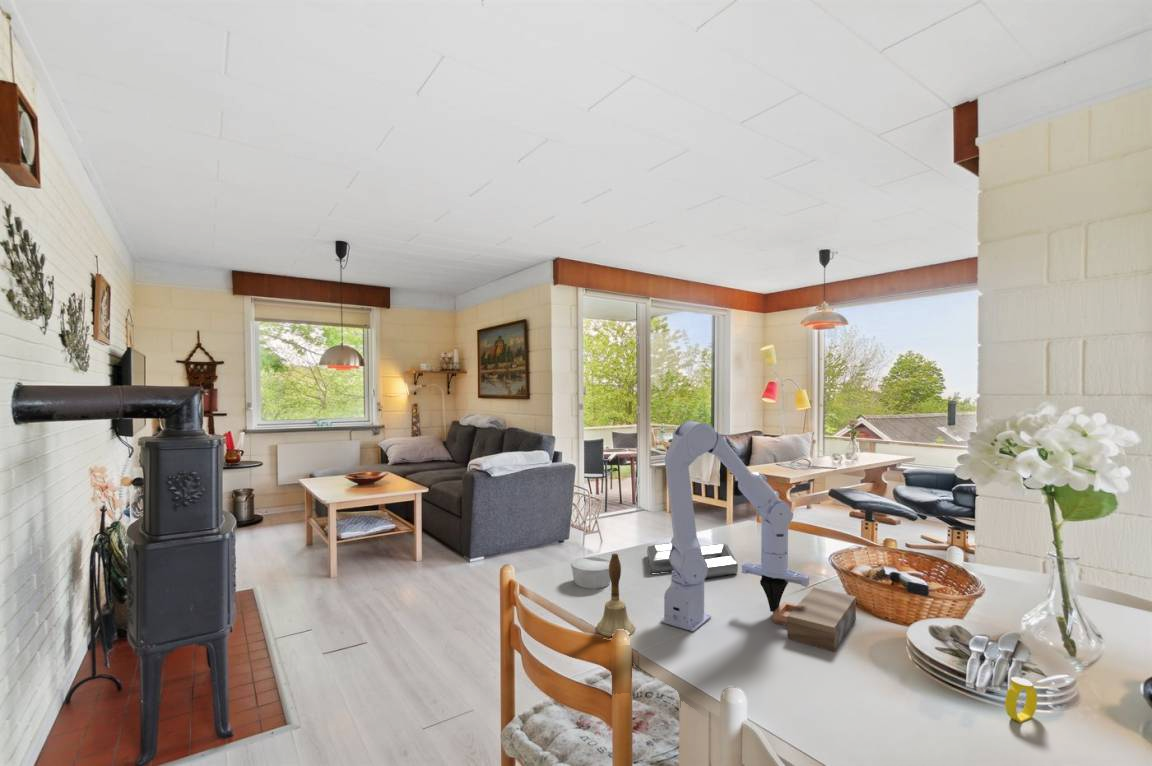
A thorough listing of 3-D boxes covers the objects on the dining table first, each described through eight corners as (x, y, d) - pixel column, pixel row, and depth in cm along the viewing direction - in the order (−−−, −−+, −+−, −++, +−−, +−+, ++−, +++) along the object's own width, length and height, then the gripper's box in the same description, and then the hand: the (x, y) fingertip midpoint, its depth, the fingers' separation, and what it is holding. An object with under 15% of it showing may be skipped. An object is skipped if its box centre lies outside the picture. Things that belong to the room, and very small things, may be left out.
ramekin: (614, 576, 151) (614, 557, 151) (613, 592, 140) (613, 571, 139) (573, 575, 152) (573, 555, 152) (569, 590, 141) (569, 569, 141)
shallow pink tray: (830, 637, 114) (830, 627, 114) (772, 622, 122) (772, 613, 122) (839, 624, 121) (839, 615, 121) (783, 610, 128) (783, 601, 128)
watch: (1021, 711, 89) (1023, 674, 90) (1041, 720, 87) (1043, 682, 87) (999, 717, 87) (1001, 679, 87) (1019, 727, 84) (1021, 688, 85)
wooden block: (834, 651, 108) (834, 627, 108) (787, 638, 114) (787, 615, 114) (855, 617, 124) (855, 596, 124) (813, 607, 130) (813, 587, 130)
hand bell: (588, 631, 117) (589, 556, 117) (608, 617, 124) (608, 546, 124) (623, 641, 113) (623, 563, 113) (641, 626, 119) (641, 552, 119)
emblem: (670, 529, 180) (754, 545, 163) (670, 546, 180) (754, 563, 163) (623, 550, 157) (716, 570, 140) (623, 569, 157) (716, 591, 140)
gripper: (812, 552, 124) (812, 612, 124) (749, 541, 133) (749, 597, 133) (803, 560, 119) (803, 623, 119) (738, 548, 127) (738, 606, 127)
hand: (774, 610), depth 125 cm, fingers closed
